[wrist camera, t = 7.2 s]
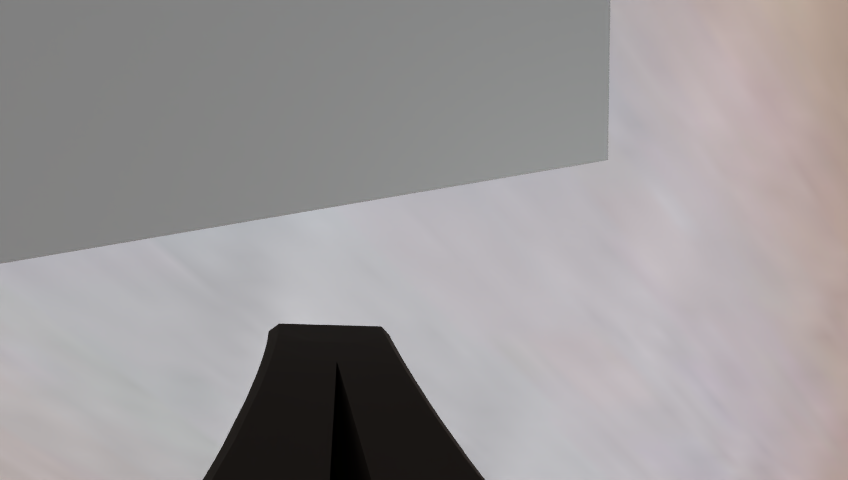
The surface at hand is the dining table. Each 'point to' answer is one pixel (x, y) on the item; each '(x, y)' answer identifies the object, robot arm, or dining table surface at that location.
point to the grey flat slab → (279, 107)
